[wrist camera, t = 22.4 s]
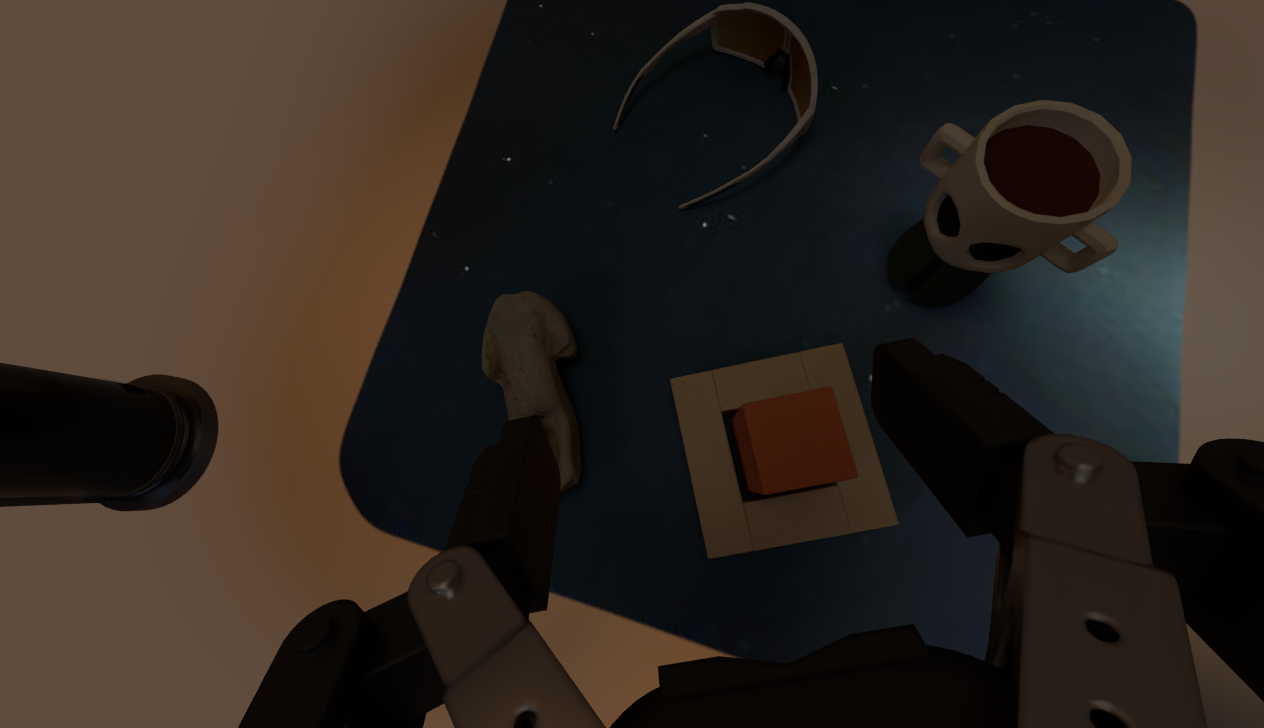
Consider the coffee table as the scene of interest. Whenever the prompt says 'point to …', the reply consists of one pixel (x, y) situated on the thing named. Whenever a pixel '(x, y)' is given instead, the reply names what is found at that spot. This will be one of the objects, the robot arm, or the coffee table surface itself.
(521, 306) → the sculpture
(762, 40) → the sunglasses
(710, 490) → the base pad
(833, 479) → the post
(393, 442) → the coffee table surface
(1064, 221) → the character mug
